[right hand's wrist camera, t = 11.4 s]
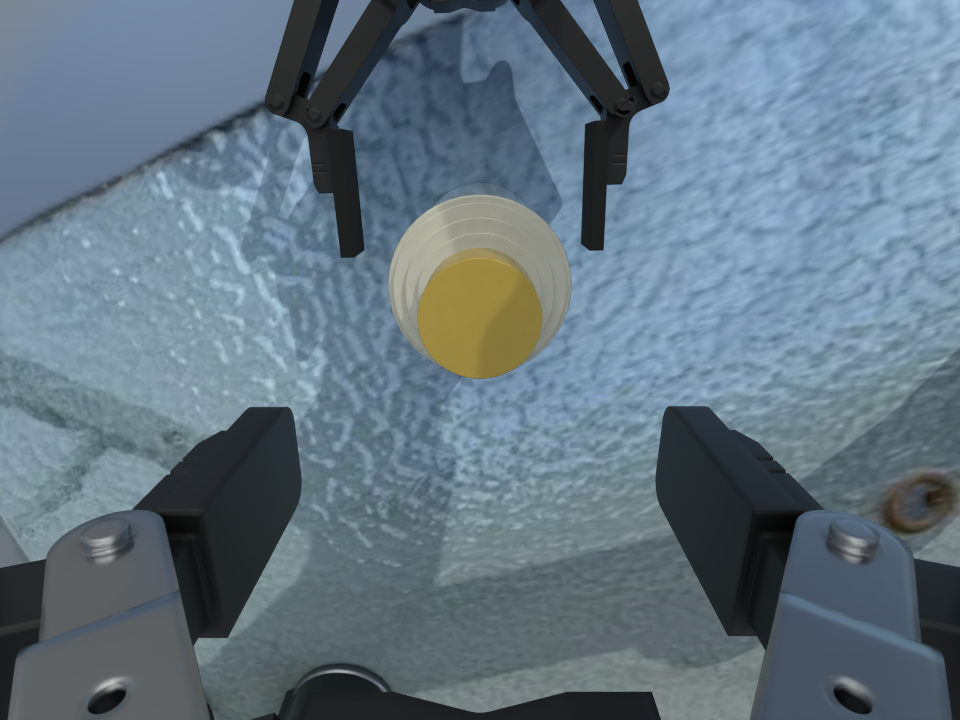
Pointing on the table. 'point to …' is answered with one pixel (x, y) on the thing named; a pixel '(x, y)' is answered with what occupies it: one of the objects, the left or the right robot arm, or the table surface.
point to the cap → (479, 314)
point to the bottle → (479, 224)
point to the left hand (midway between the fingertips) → (472, 251)
